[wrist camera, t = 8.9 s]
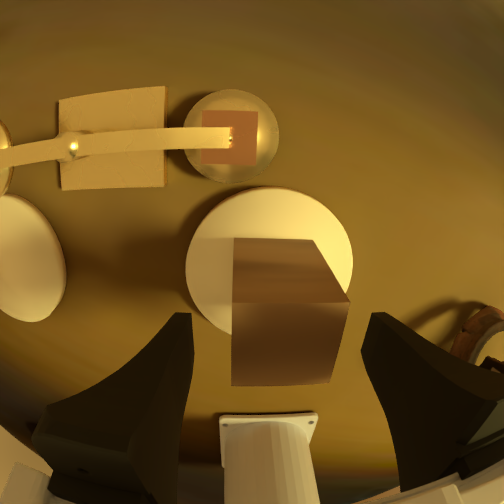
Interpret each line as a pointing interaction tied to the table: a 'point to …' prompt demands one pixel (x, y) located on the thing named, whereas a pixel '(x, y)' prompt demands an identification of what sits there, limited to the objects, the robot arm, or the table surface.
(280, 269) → the block
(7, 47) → the table surface
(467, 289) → the table surface
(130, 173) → the balance
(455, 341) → the brown segmented ring
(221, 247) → the dish low side
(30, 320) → the cream round disc
